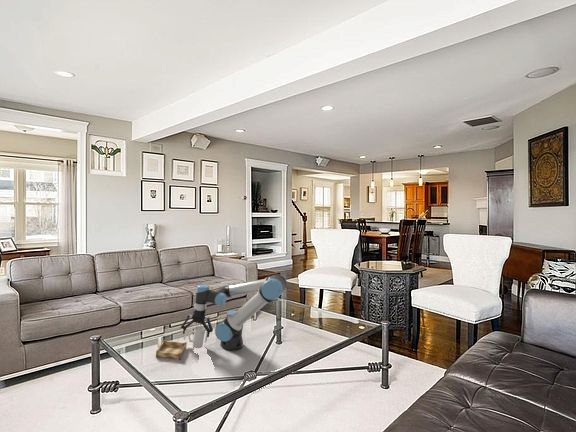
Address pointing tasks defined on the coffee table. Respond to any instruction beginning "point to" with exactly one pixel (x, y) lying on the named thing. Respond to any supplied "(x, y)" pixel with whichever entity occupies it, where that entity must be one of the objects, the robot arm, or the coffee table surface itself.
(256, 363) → the coffee table surface
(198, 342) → the mug
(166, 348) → the crate
